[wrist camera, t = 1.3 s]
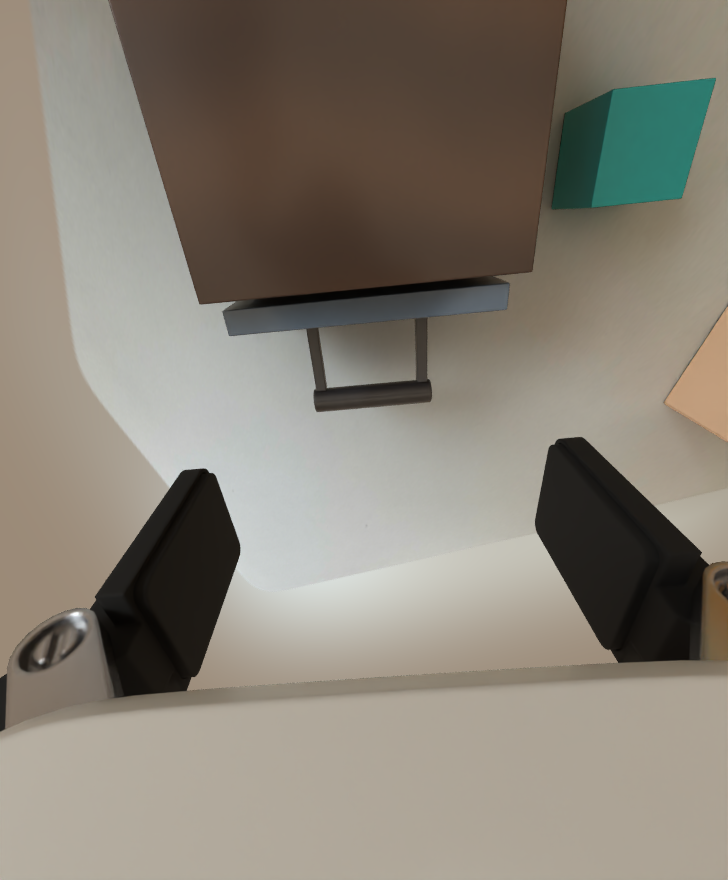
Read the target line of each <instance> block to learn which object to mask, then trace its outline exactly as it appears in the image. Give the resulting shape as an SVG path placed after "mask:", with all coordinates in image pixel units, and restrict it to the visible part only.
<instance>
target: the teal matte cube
mask: <svg viewBox="0 0 728 880" xmlns="http://www.w3.org/2000/svg"><path fill="white" fill-rule="evenodd" d="M715 81H716V78H709V79H700V80H691V81H682V82H673V83H664V84H656V85H647V86H638V87H629V88H620V89H613V90H611V91H609V92H607V93H605V94H603V95H601V96H599V97H597V98H595V99H593V100H591V101H589V102H587V103H585V104H583V105H581V106H579V107H577V108H575V109H573V110H571V111H569V112H567V113H565V117H564V124H563V131H562V138H561V145H560V152H559V160H558V167H557V174H556V181H555V188H554V195H553V202H552V209H574V208H595V207H604V206H614V205H624V204H634V203H643V202H653V201H663V200H673V199H681V198H682V195H683V192H684V189H685V185H686V182H687V178H688V175H689V171H690V168H691V164H692V161H693V157H694V154H695V150H696V147H697V143H698V140H699V136H700V133H701V129H702V126H703V123H704V119H705V116H706V112H707V109H708V105H709V102H710V98H711V95H712V91H713V88H714V84H715Z"/></svg>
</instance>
